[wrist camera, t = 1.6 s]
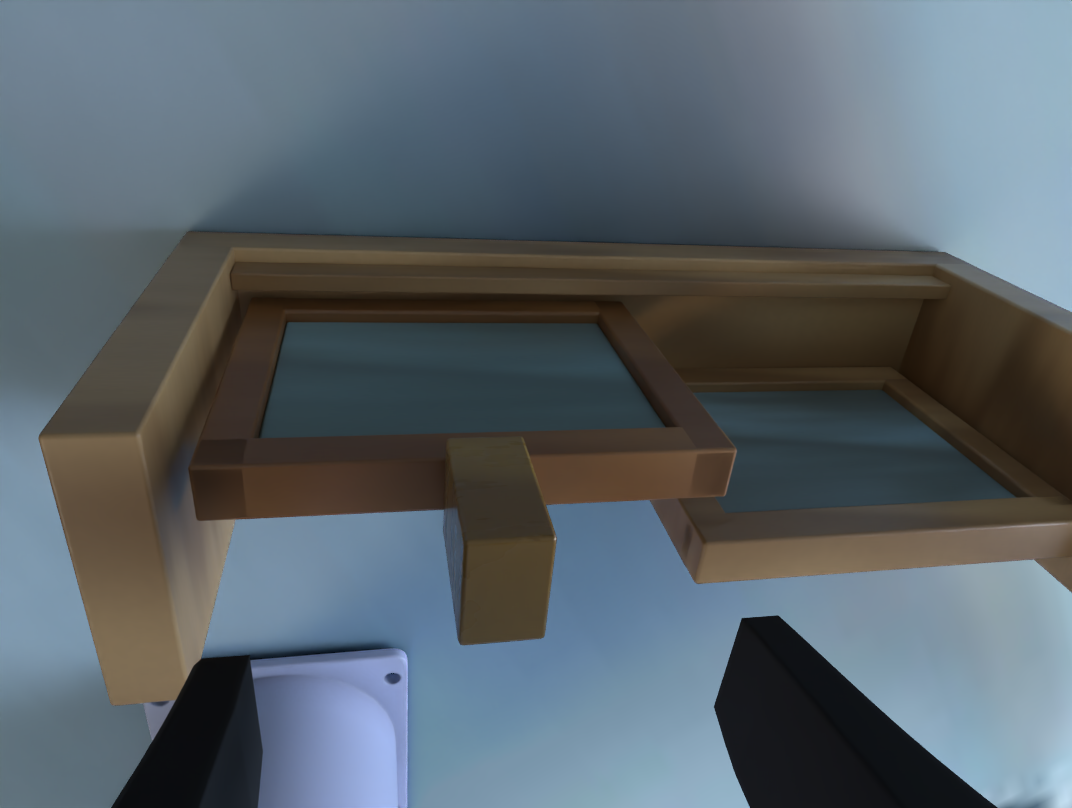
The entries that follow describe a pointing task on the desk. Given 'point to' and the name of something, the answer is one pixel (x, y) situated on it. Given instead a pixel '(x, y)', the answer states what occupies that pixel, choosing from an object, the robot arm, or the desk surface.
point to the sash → (454, 430)
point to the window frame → (692, 350)
